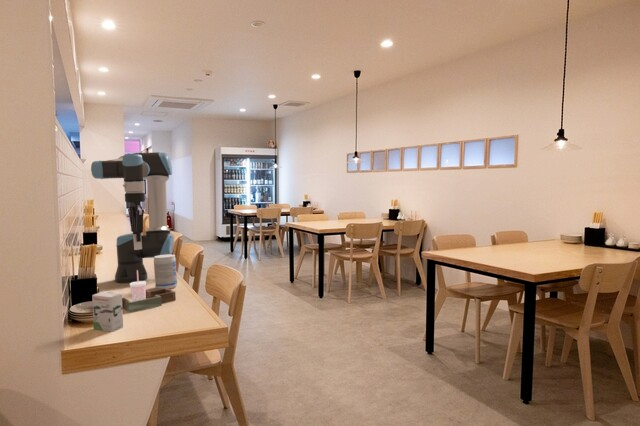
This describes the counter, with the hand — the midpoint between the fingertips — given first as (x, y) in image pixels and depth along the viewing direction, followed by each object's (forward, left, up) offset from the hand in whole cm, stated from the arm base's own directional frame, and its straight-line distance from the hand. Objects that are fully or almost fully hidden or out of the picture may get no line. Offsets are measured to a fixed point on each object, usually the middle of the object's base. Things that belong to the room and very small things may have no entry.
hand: (138, 249), depth 178 cm
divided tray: (+6, -4, -21) cm, 22 cm away
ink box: (+30, -21, -21) cm, 42 cm away
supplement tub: (-12, +15, -21) cm, 29 cm away
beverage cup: (+9, -4, -21) cm, 23 cm away
